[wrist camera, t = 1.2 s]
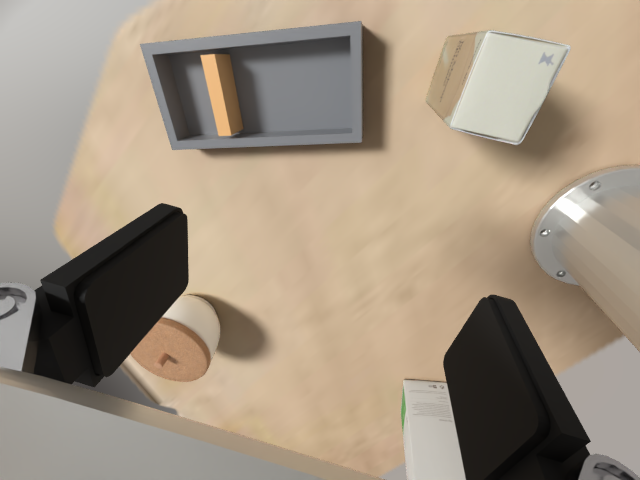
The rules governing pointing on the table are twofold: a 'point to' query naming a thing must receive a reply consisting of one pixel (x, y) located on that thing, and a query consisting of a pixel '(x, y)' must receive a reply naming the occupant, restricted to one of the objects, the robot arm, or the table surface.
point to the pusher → (222, 93)
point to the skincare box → (429, 432)
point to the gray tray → (265, 87)
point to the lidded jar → (181, 341)
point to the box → (494, 82)
